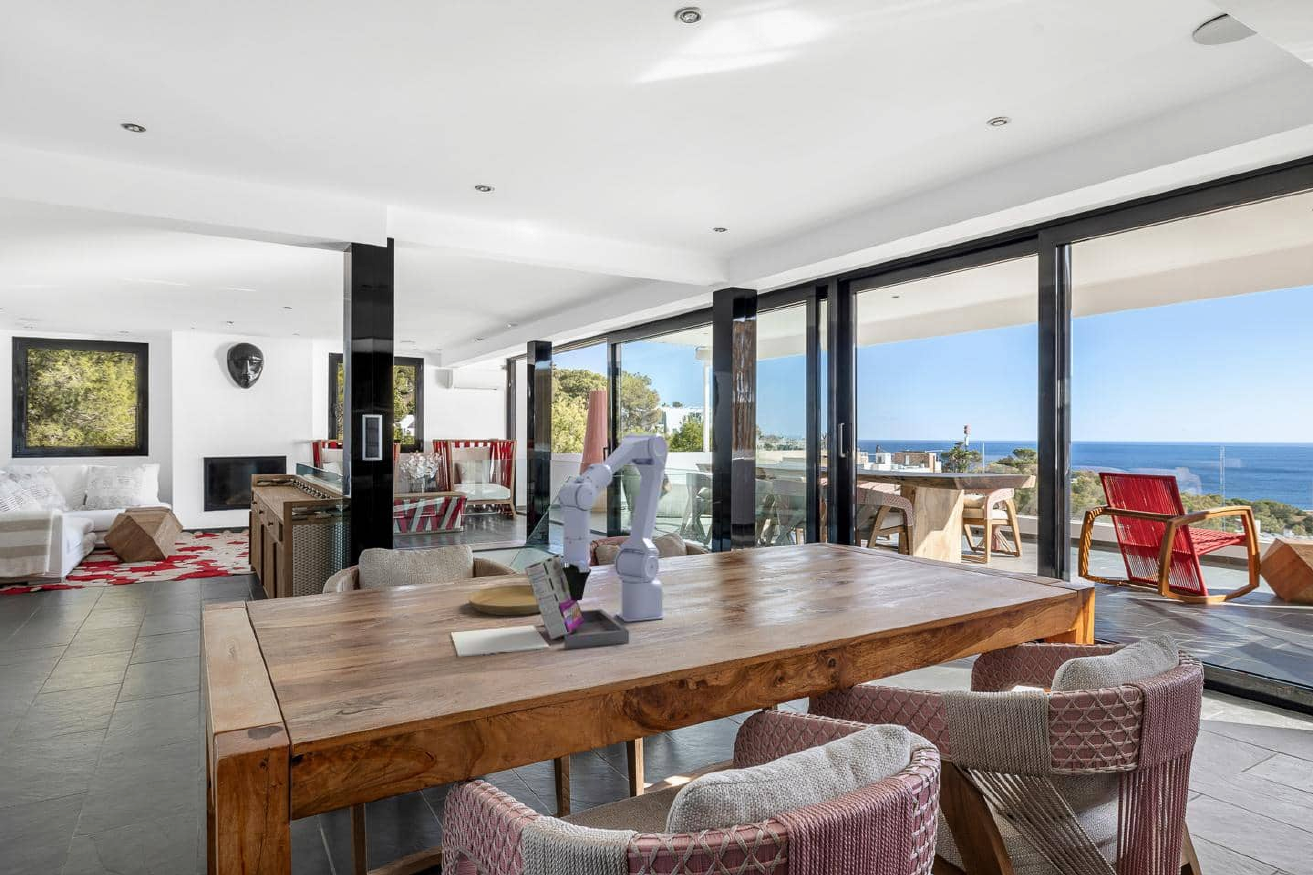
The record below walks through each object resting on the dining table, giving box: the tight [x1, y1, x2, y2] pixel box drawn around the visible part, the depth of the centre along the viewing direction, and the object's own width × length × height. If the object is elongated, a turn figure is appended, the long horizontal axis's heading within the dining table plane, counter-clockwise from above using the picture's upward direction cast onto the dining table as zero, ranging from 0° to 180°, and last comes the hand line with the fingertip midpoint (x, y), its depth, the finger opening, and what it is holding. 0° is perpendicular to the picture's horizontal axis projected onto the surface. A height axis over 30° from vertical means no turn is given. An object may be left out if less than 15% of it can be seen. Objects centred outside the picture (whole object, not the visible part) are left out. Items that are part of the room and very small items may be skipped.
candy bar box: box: [524, 553, 585, 641], centre depth 164 cm, size 11×5×16 cm, turn 168°
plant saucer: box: [467, 584, 541, 616], centre depth 192 cm, size 24×24×3 cm
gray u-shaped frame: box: [563, 608, 630, 650], centre depth 165 cm, size 14×21×2 cm, turn 20°
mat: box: [450, 625, 550, 658], centre depth 159 cm, size 18×18×1 cm
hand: (576, 599), depth 164 cm, fingers closed
